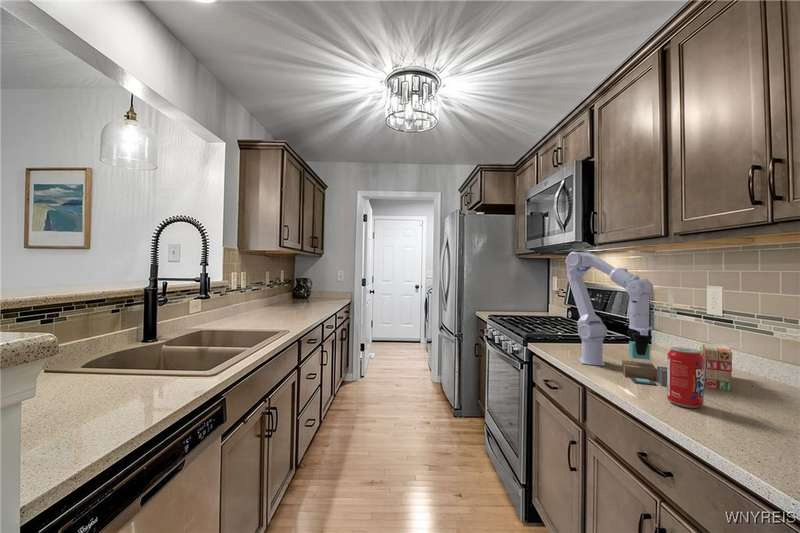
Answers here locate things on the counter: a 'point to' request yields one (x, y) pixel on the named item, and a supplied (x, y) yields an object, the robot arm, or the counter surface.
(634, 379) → the mat
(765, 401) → the counter surface
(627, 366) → the walnut block
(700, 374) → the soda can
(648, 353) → the teal cube
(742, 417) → the counter surface
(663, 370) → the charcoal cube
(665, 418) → the counter surface
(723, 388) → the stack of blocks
